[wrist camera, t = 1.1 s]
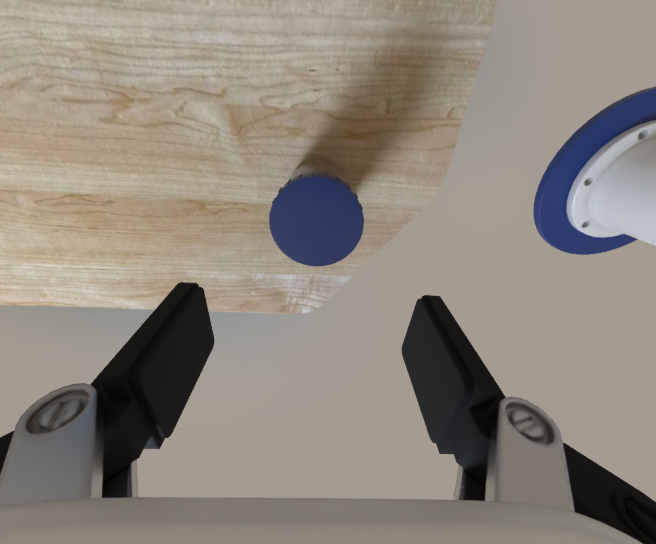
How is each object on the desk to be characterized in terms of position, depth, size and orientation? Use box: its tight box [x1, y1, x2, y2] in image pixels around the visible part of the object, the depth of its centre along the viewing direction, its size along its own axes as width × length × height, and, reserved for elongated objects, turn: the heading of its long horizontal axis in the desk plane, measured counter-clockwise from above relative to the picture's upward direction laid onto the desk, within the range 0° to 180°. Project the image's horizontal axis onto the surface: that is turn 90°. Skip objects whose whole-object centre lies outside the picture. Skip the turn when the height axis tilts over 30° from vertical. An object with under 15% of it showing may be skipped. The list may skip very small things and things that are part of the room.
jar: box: [290, 159, 348, 184], centre depth 23 cm, size 6×6×9 cm
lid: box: [269, 171, 364, 266], centre depth 19 cm, size 7×7×2 cm
